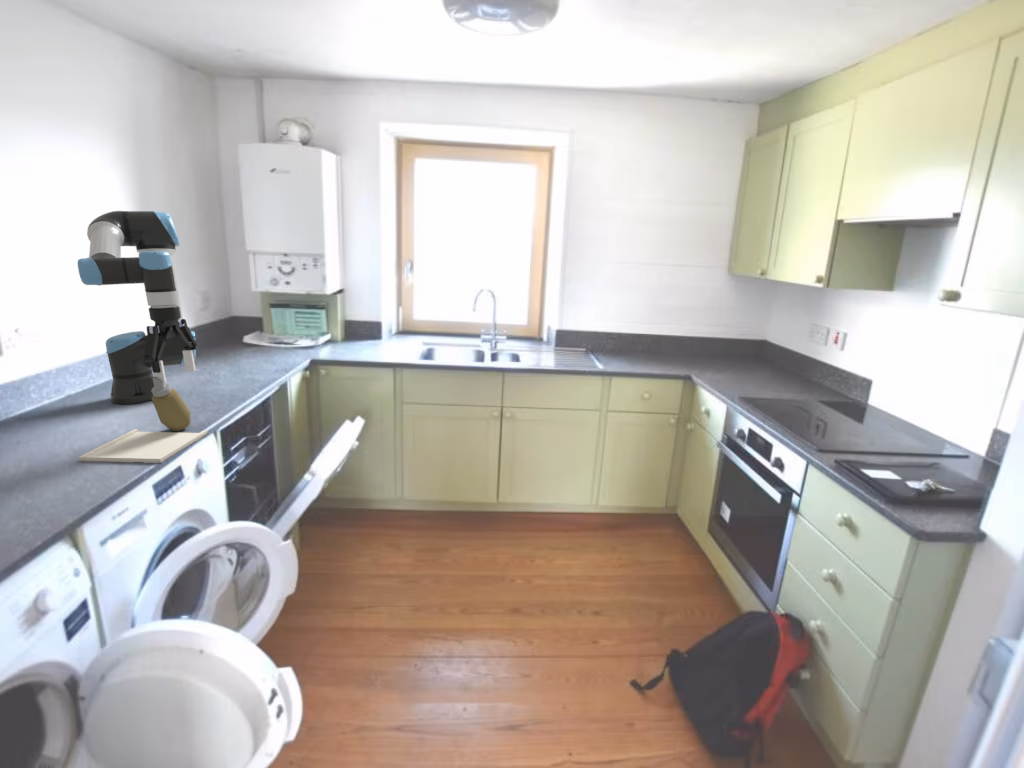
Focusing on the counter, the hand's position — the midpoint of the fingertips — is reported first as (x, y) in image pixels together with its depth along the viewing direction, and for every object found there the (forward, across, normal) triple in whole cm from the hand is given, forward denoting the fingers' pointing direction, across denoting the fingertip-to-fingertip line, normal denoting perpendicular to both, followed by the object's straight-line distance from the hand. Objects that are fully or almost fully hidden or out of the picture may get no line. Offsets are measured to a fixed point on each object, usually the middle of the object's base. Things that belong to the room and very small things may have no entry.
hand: (176, 376), depth 157 cm
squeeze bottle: (+15, +2, 0) cm, 15 cm away
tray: (+16, +16, 0) cm, 23 cm away
